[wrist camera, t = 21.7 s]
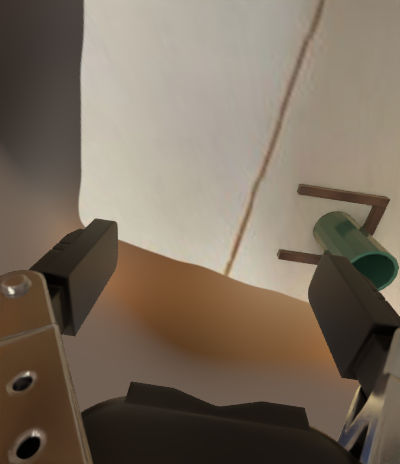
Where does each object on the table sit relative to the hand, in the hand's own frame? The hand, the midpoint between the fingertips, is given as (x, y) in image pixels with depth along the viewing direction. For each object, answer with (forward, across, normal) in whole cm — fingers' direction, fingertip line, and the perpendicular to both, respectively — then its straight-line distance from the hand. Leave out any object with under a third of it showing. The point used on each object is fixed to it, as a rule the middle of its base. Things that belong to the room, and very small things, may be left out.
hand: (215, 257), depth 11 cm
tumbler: (+28, -19, +10) cm, 35 cm away
